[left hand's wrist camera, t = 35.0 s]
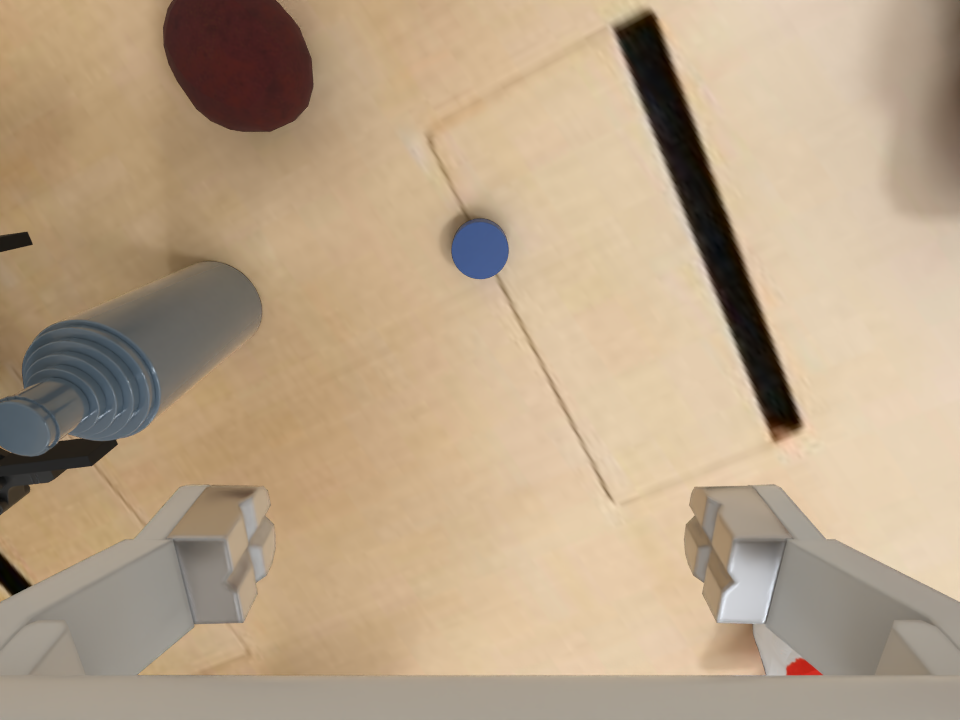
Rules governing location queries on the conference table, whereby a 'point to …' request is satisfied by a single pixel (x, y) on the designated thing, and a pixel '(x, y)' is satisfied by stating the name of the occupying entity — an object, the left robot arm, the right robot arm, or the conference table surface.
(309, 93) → the potato
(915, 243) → the conference table surface
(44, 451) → the bottle
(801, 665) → the fish
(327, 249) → the conference table surface
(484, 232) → the cap
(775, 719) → the left robot arm
